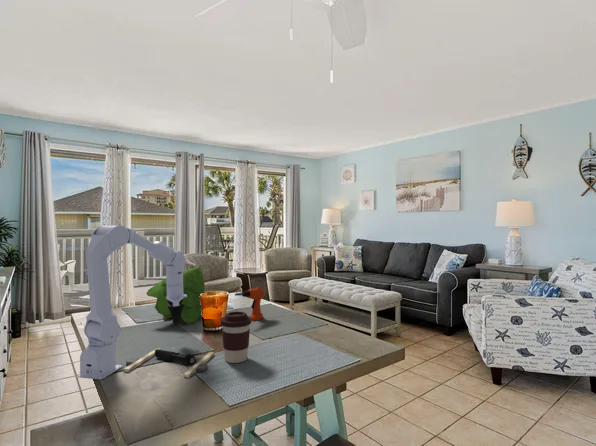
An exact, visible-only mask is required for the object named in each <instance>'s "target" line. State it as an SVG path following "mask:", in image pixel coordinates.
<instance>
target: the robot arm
mask: <svg viewBox="0 0 596 446" xmlns="http://www.w3.org/2000/svg"><path fill="white" fill-rule="evenodd" d="M90 236H91V238H90V241H89V244H88V246H87V248H86V251H85V260H86V261H85V262H86V270H87V272H86V273H87V282H88V283H87V284H88V295H89V305H90V306H89V307H90V312H89V313H88V314H87V315H86V316H85V318H86V322H85V325H84V326H83V327H84V328H83V332H84V335H85V336H86V337H87V338H88V345H87V346H86V348H85V349H84V350H82V352H80V355H79V374H78V375H77V378H80V379H81V378H82V379H89V380H91V379H92V380H99V381H100V380H103V379H105V378H107V377H108V376H110V375H111V374H113V373H114V372H116V371H118V370H120V369H122V368H123V365H122V364H116V363H117V351H116V349H117V344H116V343H117V340H118V338H119V337H120V335H121V330H122V329H121V328H122V327H121V325H120V324H119V323H118V319H117V316H116V314H115V312H114V310H113V309H112V301H111V291H110V287H111V286H110V277H109V276H110V275H109V268H108V267H109V264H108V263H109V262H108V258H109V257H110V255H112V253H114V252H115V251H117V250H119V249H120V248H121V247H124V246H125V245H127V244H130V245H132V246H135V247H137V248H140V249H141V250H143V251H147V254H148V256H149V257H151V258H153V259H155V260H157V261H159V262H161V263H162V265H164V266H165V274H166V275H165V276H166V277H165V279H166V281H167V297H166V299H167V302H168V303H169V305H167V306H168V309H169V311H170V313H171V317H170V318H171V322H172V324H173V325H175V326H176V325H180V323H181V319H182V318H181V313H182V310H183V308H184V304H181V303H182V301H183V298H185V297H187V295H186V294H184V293H183V271H185V265H186V262H187V257H185V256H186V255H185V254H184V252H182V251H177V250H175V248H174V247H173V246H172V247H171V246H168V245H166V244H165V242H164V241H163V240H162V241H161V240H159V241H157V240H155V241H154V242H153V241H151V240H150V239H147V238H146V237H145V236H143V235H141V234H139V233H137V232H136V231H134V230H133V229H132V228H128V227H126V226H125V225H106V224H102V225H99V226H98V227H96V228H95V229H94V230H93V231H92V232H91V235H90Z"/></svg>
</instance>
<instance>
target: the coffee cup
mask: <svg viewBox="0 0 596 446" xmlns="http://www.w3.org/2000/svg"><path fill="white" fill-rule="evenodd" d="M224 315H225V316H223V317H221V318H220V325H221V326H222V330H221V332H222V344H223V345H222V347H223V351H224V353H223V354H224V360H225V362H227V363H231V364H238V363H243V362H245V361H247V359H248V351H249V349H248V348H249V345H250V334H251V333H250V325H251V324H252V321H251V317H249V315H248V314H247V312H246V311H245V312H244V311H237V310H236V311H230V312H227V313H225V314H224Z"/></svg>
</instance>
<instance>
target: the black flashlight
mask: <svg viewBox="0 0 596 446" xmlns="http://www.w3.org/2000/svg"><path fill="white" fill-rule="evenodd" d="M155 349H156V350H155ZM155 349H154V350H155V357H156V358H158V359H160V360H163V361H167V362H176V363H181V364H186V365H187V366H194V365H195V364H196V363H197V362H198V361H197V358H196V357H195V355H192V354H191V353H188V354H186V353H180V352H176V351H170V350H169V351H168V350H163V349H162V350H158V349H157V348H155Z"/></svg>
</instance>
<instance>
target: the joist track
mask: <svg viewBox="0 0 596 446" xmlns="http://www.w3.org/2000/svg"><path fill="white" fill-rule="evenodd" d="M156 349H158V350H163V349H162V348H161V347H157V348H155V349H153V350H152V351H150V352H149V353H146V354H145V355H143V356H142V357H140V358H137V357H132V358H130V359H128V360H126V361H125V365H126V367H124V368H123V372H124V373H130V372H131V371H133V370H135V369H136V368H138V367H139V366H140V365H142V364H144V363H146V361H149V360H150V359H151V358H153V357H154V356H155V350H156ZM214 356H215V352H214V351H209V352H208V353H207V354H205V356H203V357H202V358H201V359H200V360H198V361H197V362H196V363H195V364H193V365H192V367H190V368H189V369H188V370H187V371H186V372H184V374H183V378H187V379H189V378H190V377H191V376H193V375H194V374H195V373H196V372H197V373H198V372H199V373H204V372H205V371H206V370H208V368H209V364H207V362H208V361H209V360H211V359H212V358H213V357H214Z"/></svg>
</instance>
